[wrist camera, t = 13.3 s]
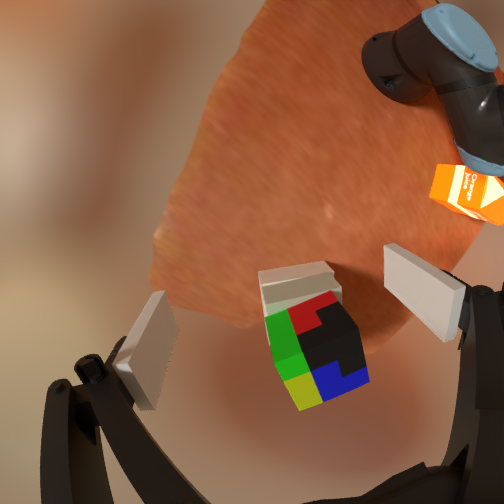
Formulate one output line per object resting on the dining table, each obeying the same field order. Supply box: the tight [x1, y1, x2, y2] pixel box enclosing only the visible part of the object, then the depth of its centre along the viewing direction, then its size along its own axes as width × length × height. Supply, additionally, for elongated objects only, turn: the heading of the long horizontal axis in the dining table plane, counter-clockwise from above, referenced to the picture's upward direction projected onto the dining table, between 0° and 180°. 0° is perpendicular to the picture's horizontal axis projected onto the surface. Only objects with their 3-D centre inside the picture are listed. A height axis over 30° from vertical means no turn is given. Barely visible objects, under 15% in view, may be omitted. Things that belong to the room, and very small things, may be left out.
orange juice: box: [429, 164, 504, 226], centre depth 36 cm, size 8×9×20 cm
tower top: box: [262, 272, 343, 316], centre depth 41 cm, size 11×11×6 cm
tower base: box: [258, 261, 334, 345], centre depth 47 cm, size 12×12×6 cm
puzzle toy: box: [265, 290, 369, 411], centre depth 34 cm, size 10×10×10 cm
